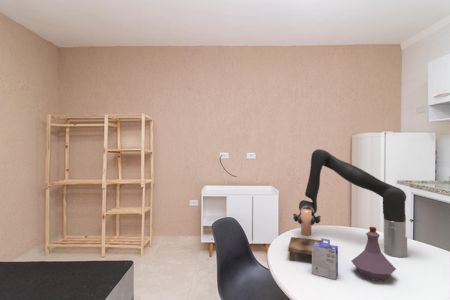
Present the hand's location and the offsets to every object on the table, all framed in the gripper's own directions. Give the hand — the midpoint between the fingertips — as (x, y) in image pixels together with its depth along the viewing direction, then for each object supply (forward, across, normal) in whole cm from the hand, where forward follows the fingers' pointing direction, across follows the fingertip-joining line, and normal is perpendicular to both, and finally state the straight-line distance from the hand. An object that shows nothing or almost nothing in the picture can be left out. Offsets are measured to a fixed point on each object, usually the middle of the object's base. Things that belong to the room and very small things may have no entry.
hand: (306, 222), depth 122 cm
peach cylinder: (-3, 0, +7) cm, 7 cm away
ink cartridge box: (+14, +8, +18) cm, 24 cm away
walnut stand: (-2, 0, +18) cm, 18 cm away
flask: (+7, +27, +18) cm, 33 cm away
